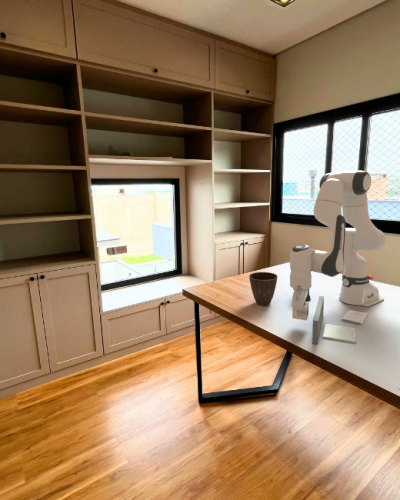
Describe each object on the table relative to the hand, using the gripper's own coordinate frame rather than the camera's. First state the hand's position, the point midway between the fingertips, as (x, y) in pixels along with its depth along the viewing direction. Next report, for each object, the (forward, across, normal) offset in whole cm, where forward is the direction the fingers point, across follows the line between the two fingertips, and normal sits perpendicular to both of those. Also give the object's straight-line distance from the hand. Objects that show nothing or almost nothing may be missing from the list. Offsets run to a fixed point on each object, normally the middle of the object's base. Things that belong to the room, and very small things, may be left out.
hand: (300, 311), depth 128 cm
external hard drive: (+9, +18, -22) cm, 30 cm away
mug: (+8, +36, +5) cm, 37 cm away
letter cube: (+2, 0, 0) cm, 2 cm away
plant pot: (+8, +21, +22) cm, 32 cm away
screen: (+8, +1, -7) cm, 11 cm away
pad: (+8, 0, -16) cm, 17 cm away
